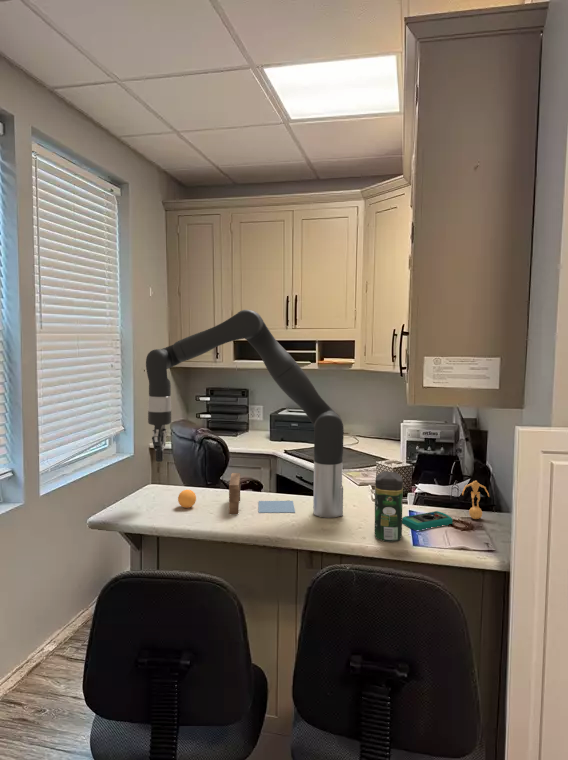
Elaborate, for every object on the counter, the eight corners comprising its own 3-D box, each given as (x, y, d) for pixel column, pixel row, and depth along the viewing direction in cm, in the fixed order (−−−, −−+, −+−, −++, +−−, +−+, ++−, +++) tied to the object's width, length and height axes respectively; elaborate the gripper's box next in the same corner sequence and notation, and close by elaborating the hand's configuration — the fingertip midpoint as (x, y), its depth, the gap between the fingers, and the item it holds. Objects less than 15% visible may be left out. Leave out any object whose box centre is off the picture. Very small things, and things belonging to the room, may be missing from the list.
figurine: (462, 520, 164) (464, 482, 163) (460, 513, 170) (461, 477, 169) (490, 521, 162) (491, 484, 161) (486, 515, 168) (488, 479, 167)
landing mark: (292, 501, 181) (292, 500, 181) (295, 512, 169) (295, 512, 169) (258, 501, 181) (258, 500, 181) (258, 512, 169) (258, 512, 169)
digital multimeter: (454, 525, 160) (454, 516, 160) (416, 533, 154) (416, 523, 154) (437, 518, 167) (438, 509, 167) (400, 525, 160) (401, 515, 160)
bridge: (240, 500, 182) (240, 473, 181) (238, 514, 167) (238, 485, 166) (231, 500, 182) (231, 473, 181) (229, 514, 167) (229, 485, 166)
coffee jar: (374, 529, 155) (376, 468, 154) (401, 531, 154) (403, 470, 152) (373, 541, 146) (374, 476, 144) (401, 544, 144) (403, 478, 143)
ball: (197, 504, 177) (197, 487, 176) (195, 510, 171) (194, 492, 170) (179, 504, 177) (179, 487, 176) (176, 510, 171) (176, 492, 170)
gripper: (167, 412, 165) (167, 466, 166) (174, 407, 178) (174, 456, 179) (143, 412, 164) (143, 465, 166) (152, 406, 177) (152, 456, 179)
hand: (159, 461), depth 172 cm, fingers closed
